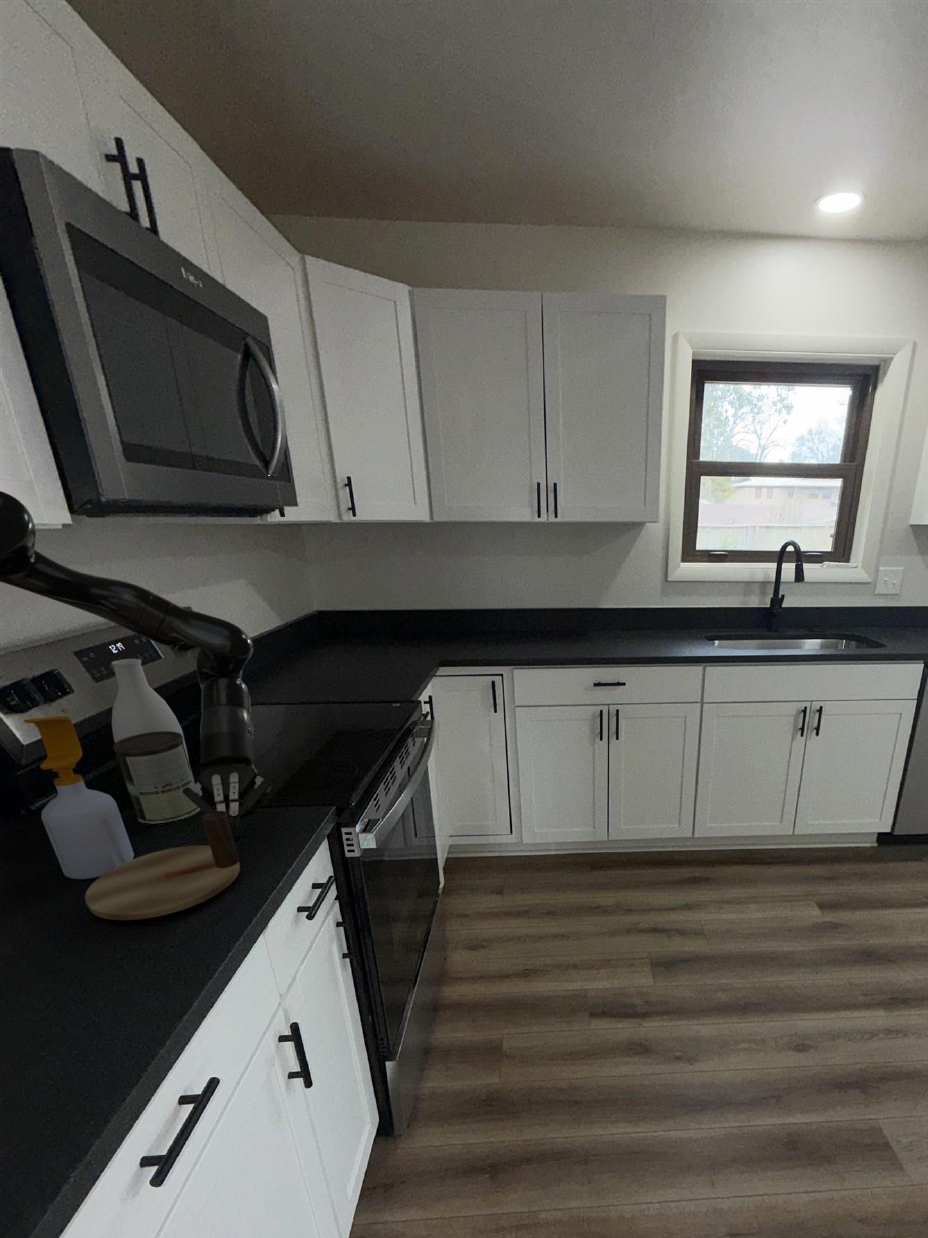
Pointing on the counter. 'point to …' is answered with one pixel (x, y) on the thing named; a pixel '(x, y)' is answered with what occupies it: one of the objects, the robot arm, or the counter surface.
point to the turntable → (168, 877)
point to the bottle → (139, 704)
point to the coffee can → (157, 776)
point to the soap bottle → (79, 809)
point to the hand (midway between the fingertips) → (231, 842)
